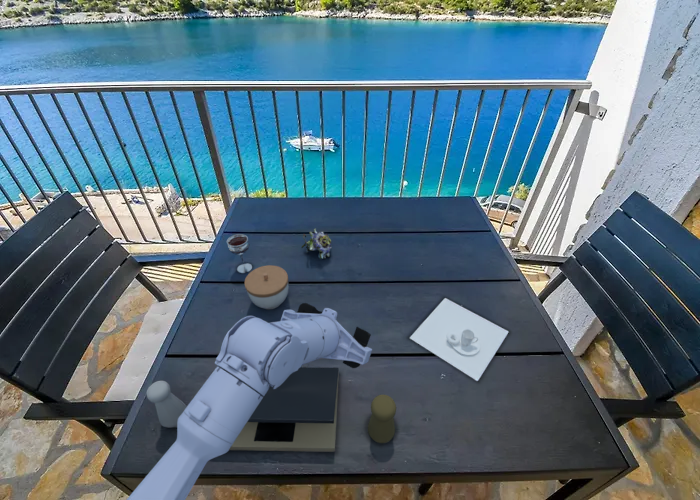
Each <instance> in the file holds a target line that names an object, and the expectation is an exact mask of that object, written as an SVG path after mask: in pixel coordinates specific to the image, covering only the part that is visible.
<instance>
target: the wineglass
mask: <svg viewBox="0 0 700 500" xmlns="http://www.w3.org/2000/svg"><path fill="white" fill-rule="evenodd" d="M226 244H227V249H228V251H229V252H230V253H231V254H233V255H236V256H240V260H241V262H242V263H241V264H240V265H238V266H237V268H236V270H237V272H238V273H241V274H245V273H249V272H251V271H252V269H253V266H252V264H251V263H249V262H248V263H247V262H246V263H245V261H244V256H243V255H244V254H245V253H246V252H248V251H249V248H250V241H249V237H248V236H247V235H245V234H242V233H237V234H233V235H230V236H229V237H228V238H227V240H226Z"/></svg>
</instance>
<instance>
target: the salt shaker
mask: <svg viewBox="0 0 700 500" xmlns="http://www.w3.org/2000/svg"><path fill="white" fill-rule="evenodd" d="M146 398H147V399H148V401H149V402H151V403H153V404H154V406H155V410H156V414H157V419H158V422H159V423H160V425H161V426H162V427H165V428H167V429H168V428H169V429H170V428H177V421H178V418H179V417H180V415H181V414H182V413H183V411H184V410H185V409H186V407H187V406H188V405H186V404H185V402H183V401H182V400H181V399H180V398H179V397H177V396H176V395H175V394H174V393H172V392H171V385H170V384H169V383H168V382H167V381H165V380H157V381H155V382H153V383H151V385H150V386H148V388H147V390H146Z"/></svg>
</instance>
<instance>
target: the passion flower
mask: <svg viewBox="0 0 700 500" xmlns="http://www.w3.org/2000/svg"><path fill="white" fill-rule="evenodd" d="M309 235H310V239H309V240H308V241H307V240H306V239H305V238H307V235H306V234H305V233H303V234H302V238H303V240H304V243H303V245H302V246H301V249H303V248H304V247H305V248H306V253H308V252H315V251H318V252H319V253H318V259H319V260H323V259H324V260H326V257H327V258H330V252H331V249H332V240H331V238H330V237H329V234H328V233H325V232H324V231H317V228H314V229H313V232H312V231H309Z"/></svg>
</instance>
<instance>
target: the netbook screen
mask: <svg viewBox="0 0 700 500" xmlns="http://www.w3.org/2000/svg"><path fill="white" fill-rule="evenodd" d="M338 371H339V367H308V366H307V367H305V366H303V367H302V366H301V367H300V368H299V369H298V371H295V372H293V373H292V374H290V375H289V377H288V378H287V379H286V380H285V381H284V382H283V383H282V384H281V385H280V386H279V387H277V388H276V389H273V387H271V386H270V388H269V389H268V391H267V392H266V394H265V395H264V396H262V395H261V396H262V397H263V398H262V400H261V402H260V403H259V405H258V406H257V408H256V409H255V411H254V412H253V414H252V415H251V417H250V418H249V420H248V421H247V422H271V423H332V424H333V423H334V415H335V404H336V393H337V382H338V383H339V380H338Z"/></svg>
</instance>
